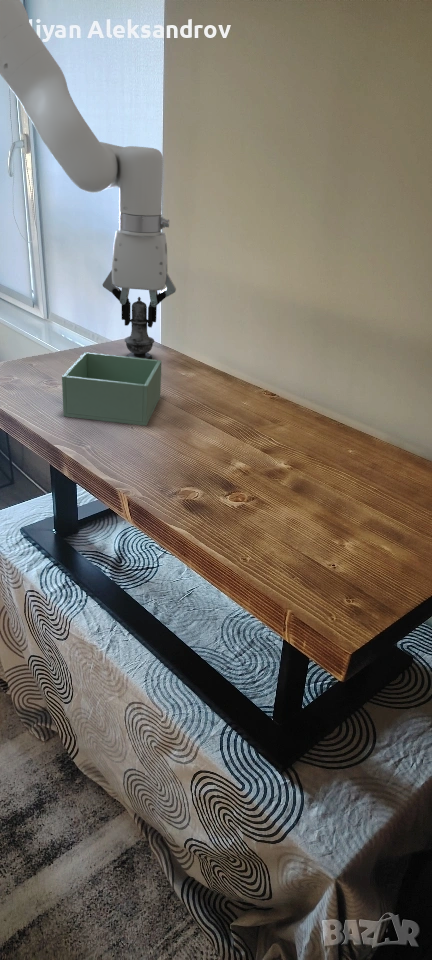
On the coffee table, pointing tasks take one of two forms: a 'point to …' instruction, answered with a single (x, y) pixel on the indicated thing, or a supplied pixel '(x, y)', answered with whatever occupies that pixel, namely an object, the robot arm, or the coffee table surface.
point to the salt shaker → (139, 333)
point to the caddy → (112, 388)
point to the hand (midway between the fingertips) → (139, 323)
